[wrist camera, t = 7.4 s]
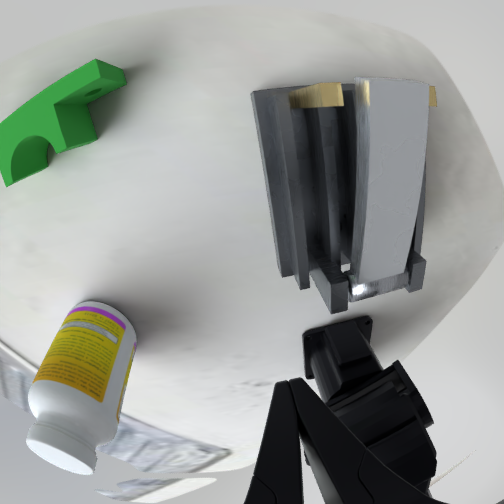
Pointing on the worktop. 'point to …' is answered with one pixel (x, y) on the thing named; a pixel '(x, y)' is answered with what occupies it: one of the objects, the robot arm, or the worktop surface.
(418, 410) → the robot arm
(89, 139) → the pipe clamp
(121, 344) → the supplement bottle
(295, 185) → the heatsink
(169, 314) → the worktop surface
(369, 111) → the silver metal bar
